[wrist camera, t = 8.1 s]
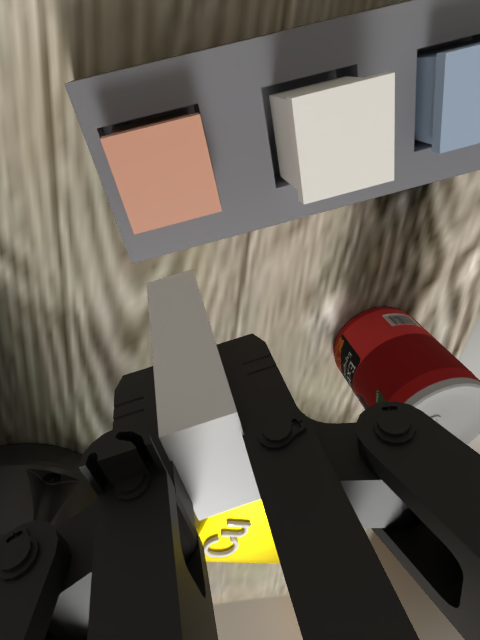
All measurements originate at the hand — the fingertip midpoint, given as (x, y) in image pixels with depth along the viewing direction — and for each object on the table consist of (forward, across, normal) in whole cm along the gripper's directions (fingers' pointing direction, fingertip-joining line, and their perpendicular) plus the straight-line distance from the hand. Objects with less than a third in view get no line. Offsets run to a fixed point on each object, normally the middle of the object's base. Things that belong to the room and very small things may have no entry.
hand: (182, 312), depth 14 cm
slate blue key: (+16, +19, +2) cm, 24 cm away
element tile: (+18, +1, -35) cm, 39 cm away
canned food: (+17, +14, -18) cm, 29 cm away
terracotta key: (+16, +1, +2) cm, 16 cm away
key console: (+17, +10, +2) cm, 20 cm away
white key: (+14, +10, +2) cm, 17 cm away
